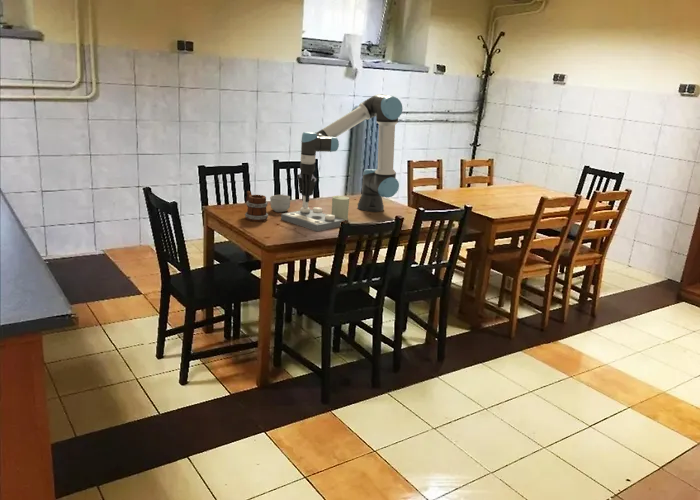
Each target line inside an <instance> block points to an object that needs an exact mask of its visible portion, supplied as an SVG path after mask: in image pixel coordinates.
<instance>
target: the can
mask: <svg viewBox="0 0 700 500" xmlns="http://www.w3.org/2000/svg"><path fill="white" fill-rule="evenodd" d="M331 197H332V198H331V213H330V214H331V215H335V217H337V218H341V219H344V220H346V221H349V208H350V207H349V206H350V197H348V196H345V195H333V196H331Z"/></svg>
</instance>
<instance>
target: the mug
mask: <svg viewBox="0 0 700 500" xmlns="http://www.w3.org/2000/svg"><path fill="white" fill-rule="evenodd" d="M246 194H247V196H246V202H245V204H246V207H247V208H246V209H247V211H246V212H245V213H244V215H245V218H246V219H245V220H247V221H250V222H253V223H254V222H257V223H258V222H266V221H268V218H269V214H268V213H267V207H268V202H267V196H266V195H263V194H252V192H251V191H250V190H247V191H246Z"/></svg>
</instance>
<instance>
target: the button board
mask: <svg viewBox="0 0 700 500" xmlns="http://www.w3.org/2000/svg"><path fill="white" fill-rule="evenodd" d="M325 215H327V214H326V213H325V212H322V213H313V209H311V208H310V213H302V212H300V210H298V211H295V210H294V211H289V212H285V213H284V212H283V213H281V215H280V217H281V218H280V219H281V220H282V221H284V222H287V223H290V224H294V225H296V226H299V227H303V228H306V229H309V230H312V231H314V232H320V231H321V232H322V231H324V230H329V229H335V228H338V227H339V226H340V223H341V222H342V221H345V220H344V219H341V218H337V217H335V220H334V221H328V220H325ZM345 222H346V221H345ZM340 227H341V226H340Z"/></svg>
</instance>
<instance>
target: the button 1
mask: <svg viewBox="0 0 700 500" xmlns="http://www.w3.org/2000/svg"><path fill="white" fill-rule="evenodd" d="M310 209H311V208H310V207H308V208H302V207H300V209H299V211H300V212H302V213H310Z"/></svg>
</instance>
